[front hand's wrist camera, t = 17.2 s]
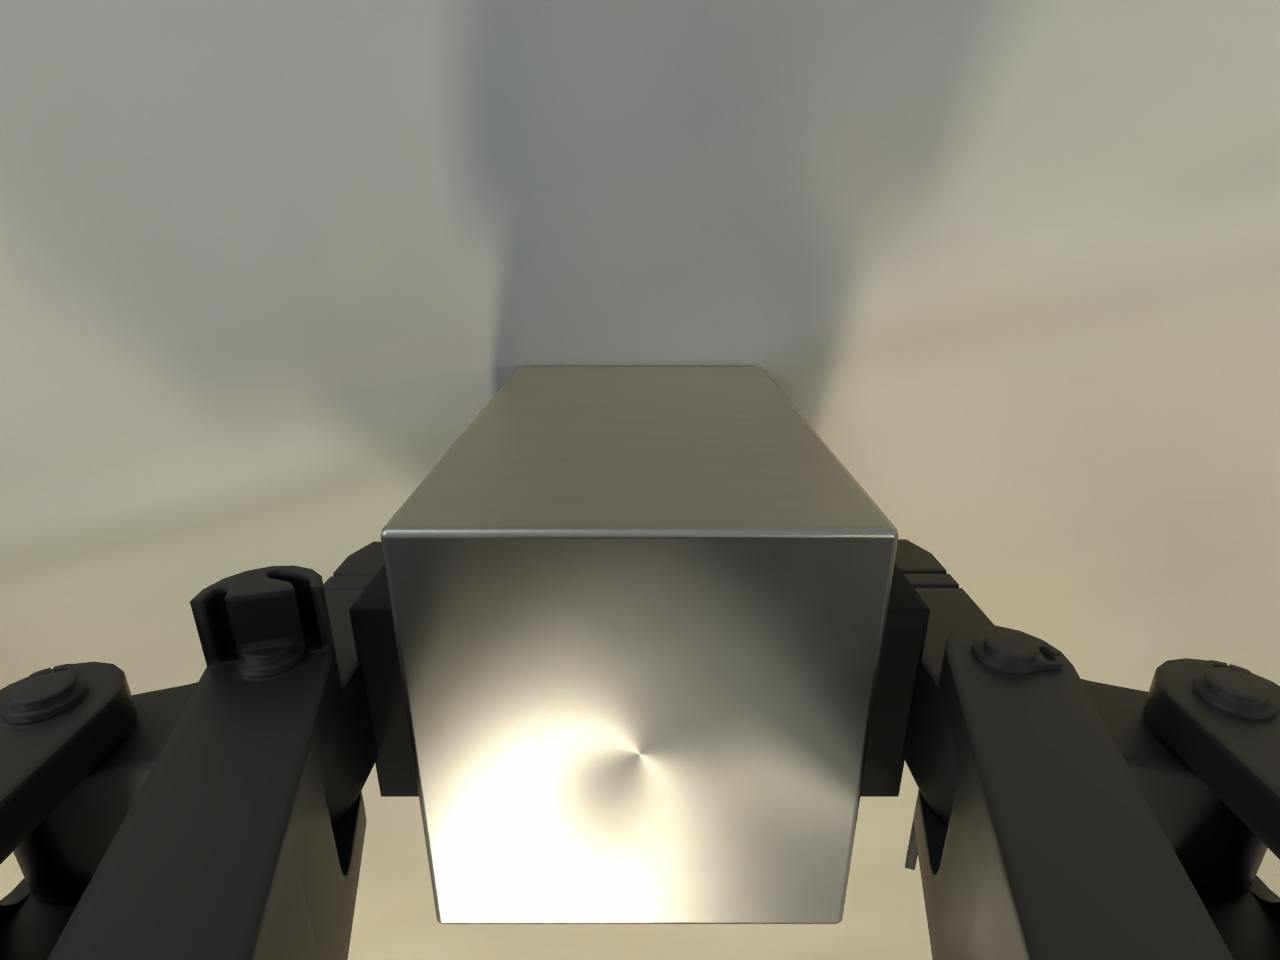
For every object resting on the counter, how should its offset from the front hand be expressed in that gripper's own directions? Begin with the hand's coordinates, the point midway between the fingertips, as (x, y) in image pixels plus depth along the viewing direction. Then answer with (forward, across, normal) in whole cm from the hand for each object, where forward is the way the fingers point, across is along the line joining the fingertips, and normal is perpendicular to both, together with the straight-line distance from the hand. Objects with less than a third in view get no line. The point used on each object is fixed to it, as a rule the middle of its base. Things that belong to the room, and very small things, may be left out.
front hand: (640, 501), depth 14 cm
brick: (+1, 0, 0) cm, 1 cm away
